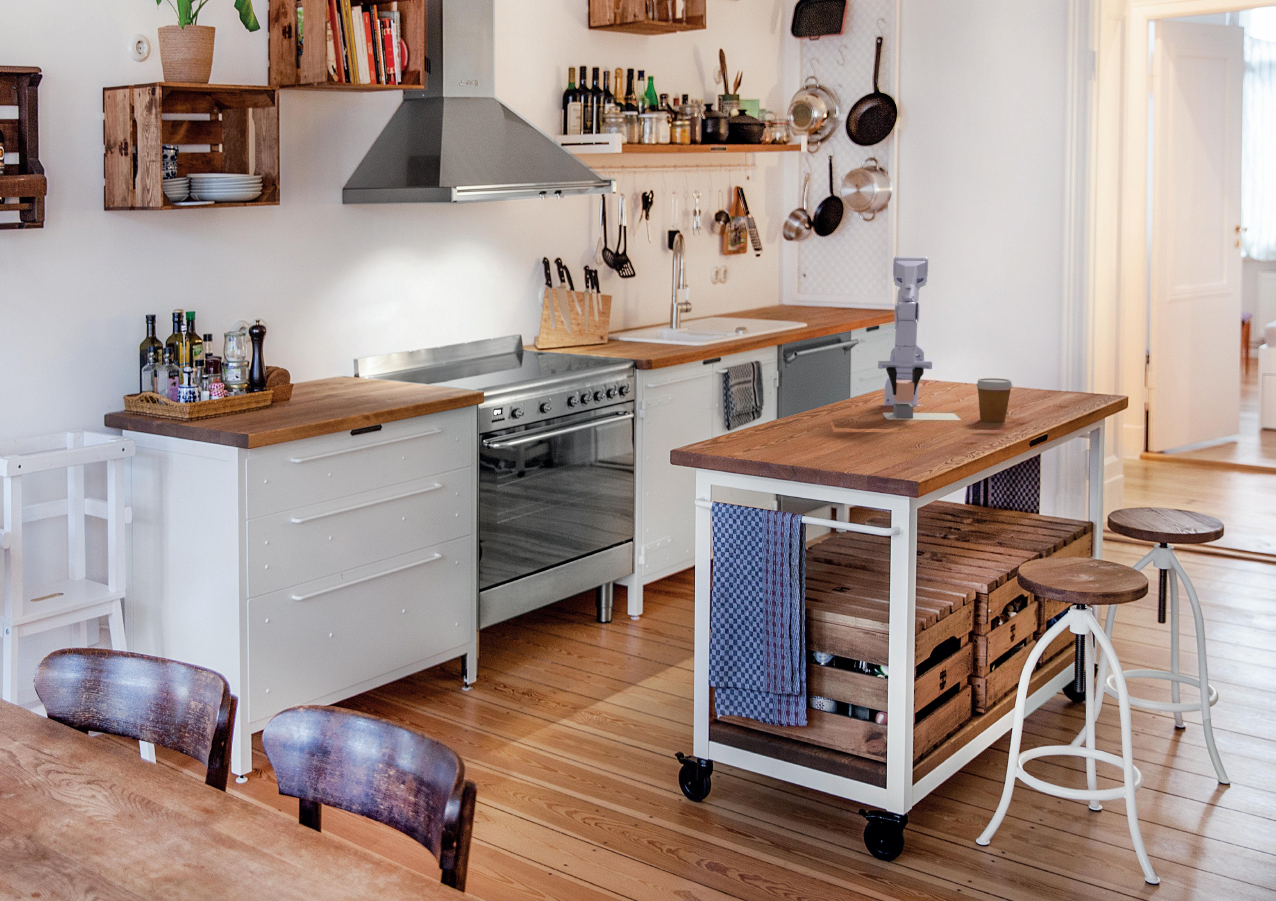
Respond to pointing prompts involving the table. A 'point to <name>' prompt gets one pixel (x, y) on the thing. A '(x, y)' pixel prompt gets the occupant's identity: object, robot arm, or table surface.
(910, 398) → the terracotta brick
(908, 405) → the charcoal brick
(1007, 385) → the disposable coffee cup
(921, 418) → the baseplate
